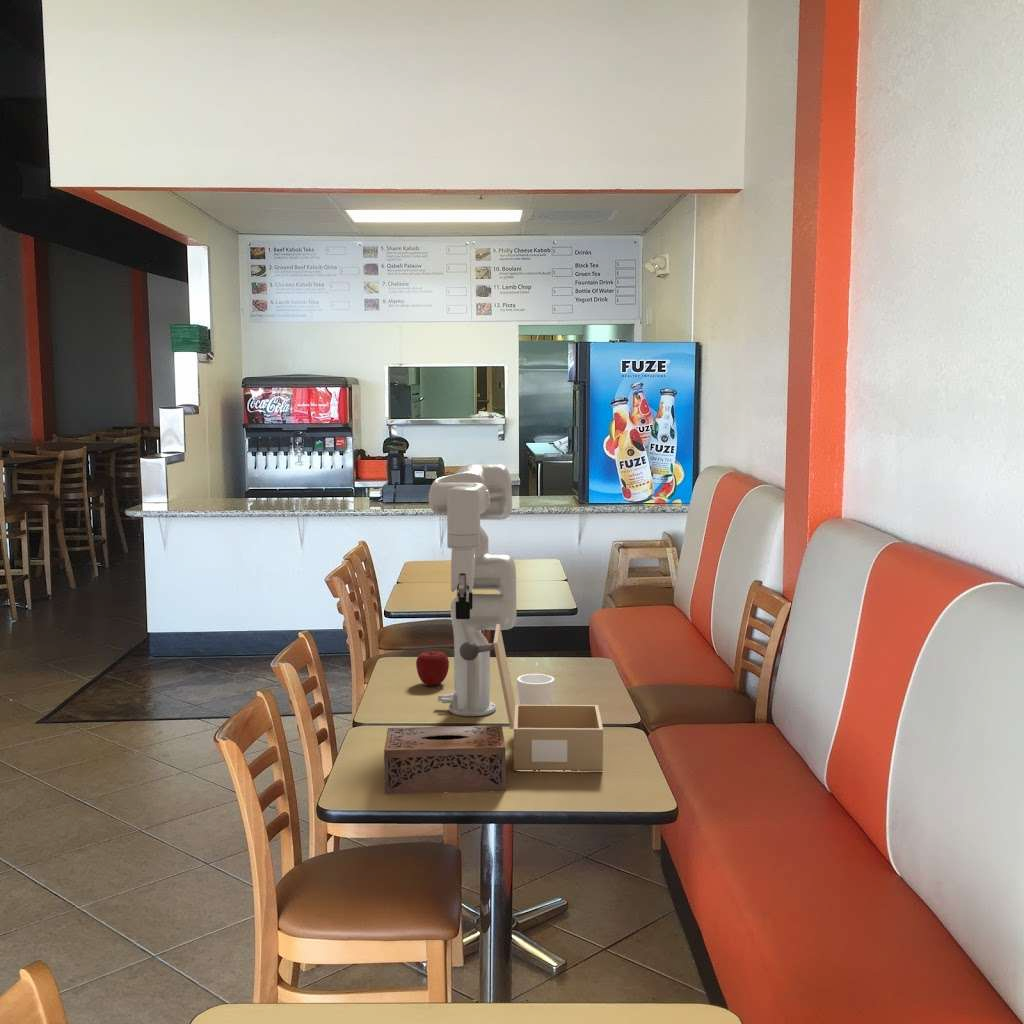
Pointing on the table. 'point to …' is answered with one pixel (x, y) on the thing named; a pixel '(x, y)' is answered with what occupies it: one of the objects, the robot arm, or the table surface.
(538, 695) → the foam cup
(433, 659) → the apple
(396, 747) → the tissue box cover
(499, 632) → the carton lid
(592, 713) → the carton
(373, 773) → the table surface
